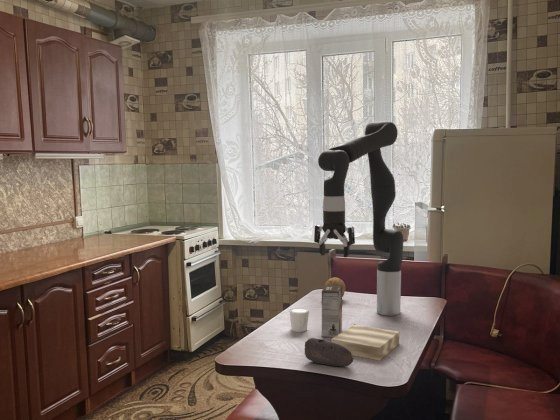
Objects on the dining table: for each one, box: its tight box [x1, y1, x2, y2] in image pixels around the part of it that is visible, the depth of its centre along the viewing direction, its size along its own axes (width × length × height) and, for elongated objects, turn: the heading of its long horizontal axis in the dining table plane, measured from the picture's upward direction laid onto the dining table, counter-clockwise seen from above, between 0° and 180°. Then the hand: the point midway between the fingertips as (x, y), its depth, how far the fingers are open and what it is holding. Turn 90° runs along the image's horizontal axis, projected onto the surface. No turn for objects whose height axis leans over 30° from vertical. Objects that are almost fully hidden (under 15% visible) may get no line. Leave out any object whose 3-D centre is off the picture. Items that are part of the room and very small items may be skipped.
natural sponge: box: [324, 276, 346, 298], centre depth 240 cm, size 9×9×10 cm
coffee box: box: [321, 284, 343, 338], centre depth 193 cm, size 9×6×16 cm
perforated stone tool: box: [304, 337, 354, 367], centre depth 164 cm, size 15×5×7 cm, turn 59°
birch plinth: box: [331, 324, 400, 361], centre depth 179 cm, size 18×16×4 cm
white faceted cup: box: [289, 307, 310, 333], centre depth 198 cm, size 7×7×7 cm
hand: (334, 256), depth 191 cm, fingers open, 8 cm apart
